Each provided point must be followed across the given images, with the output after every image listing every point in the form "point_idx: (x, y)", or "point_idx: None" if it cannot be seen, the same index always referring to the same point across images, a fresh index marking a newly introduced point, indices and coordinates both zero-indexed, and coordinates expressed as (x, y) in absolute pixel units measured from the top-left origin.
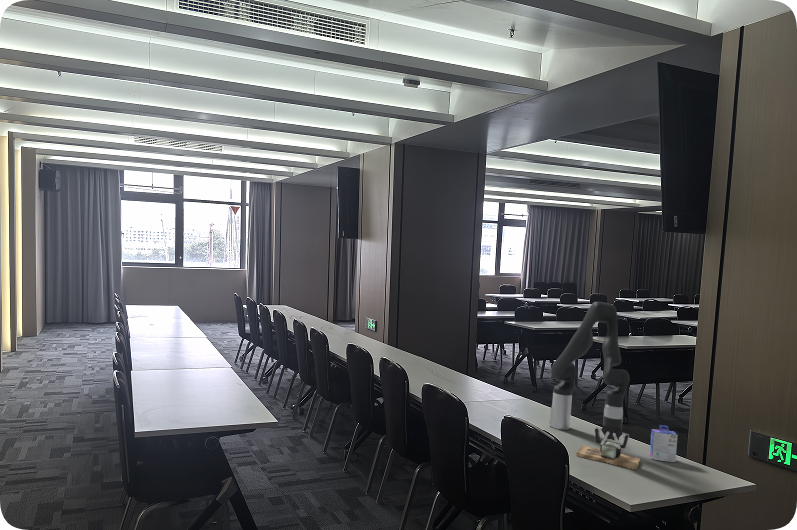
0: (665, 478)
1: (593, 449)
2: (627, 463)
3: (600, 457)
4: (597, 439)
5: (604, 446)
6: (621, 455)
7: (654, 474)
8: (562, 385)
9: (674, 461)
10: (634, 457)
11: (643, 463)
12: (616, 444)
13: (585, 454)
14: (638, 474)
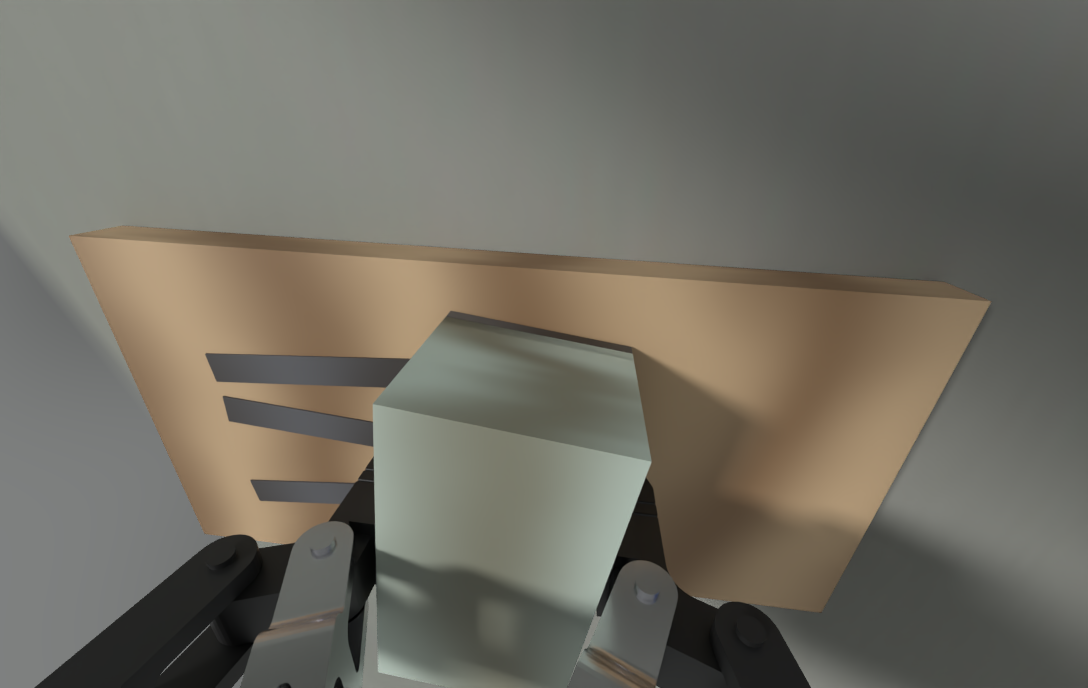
0: (1073, 637)
1: (269, 330)
2: (723, 581)
3: None
4: (219, 667)
5: (412, 669)
6: (667, 347)
7: (983, 595)
8: None
9: None
10: (884, 319)
11: (986, 320)
12: (575, 501)
13: (289, 541)
14: (797, 645)
